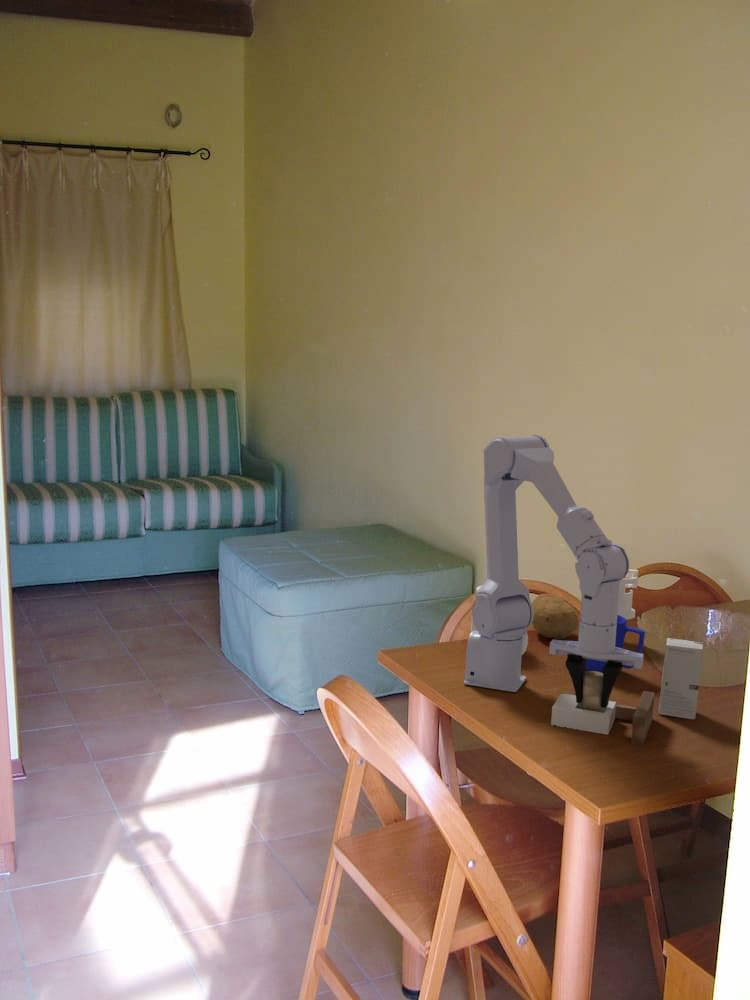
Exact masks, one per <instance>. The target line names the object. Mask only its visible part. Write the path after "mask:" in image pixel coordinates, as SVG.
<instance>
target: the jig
mask: <svg viewBox="0 0 750 1000" xmlns="http://www.w3.org/2000/svg"><path fill="white" fill-rule="evenodd" d="M655 694H656V693H655V692H652V691H646V690H643V691H642V693H641V696H640V698H639V700H638V703H637V706H630V705H624V704H618V703H616V712H615V719H621V720H625V721H626V720H627V721H632V727H631V728H632V729H631V742H630V744H632V745H635V746H636V745H637V746H643V747H644V744H645V741H646V738H647V736H648V733H649V730H650V727H651V724H652V722H653V715H654V704H655Z"/></svg>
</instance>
